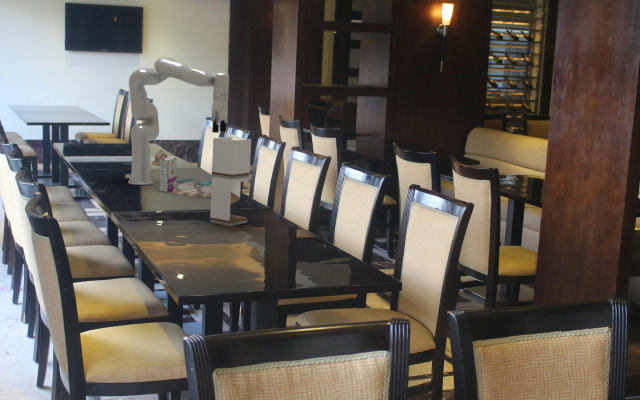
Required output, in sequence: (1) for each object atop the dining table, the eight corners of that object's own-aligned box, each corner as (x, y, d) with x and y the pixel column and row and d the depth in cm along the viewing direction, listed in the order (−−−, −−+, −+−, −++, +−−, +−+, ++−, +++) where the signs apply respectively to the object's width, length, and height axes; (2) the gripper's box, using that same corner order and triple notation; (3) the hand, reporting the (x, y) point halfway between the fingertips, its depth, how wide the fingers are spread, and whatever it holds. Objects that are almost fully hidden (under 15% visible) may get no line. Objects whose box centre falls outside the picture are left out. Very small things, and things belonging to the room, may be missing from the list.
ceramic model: (150, 163, 506) (150, 147, 505) (167, 163, 511) (168, 147, 509) (155, 166, 494) (155, 150, 492) (173, 166, 499) (173, 150, 497)
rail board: (172, 193, 395) (172, 180, 394) (185, 190, 409) (185, 177, 408) (205, 197, 390) (205, 184, 389) (217, 194, 403) (218, 181, 402)
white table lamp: (230, 226, 326) (234, 140, 320) (210, 222, 331) (213, 137, 326) (247, 222, 336) (251, 139, 330) (227, 218, 341) (230, 136, 335)
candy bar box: (167, 188, 411) (168, 156, 408) (176, 189, 410) (177, 157, 407) (158, 191, 400) (159, 158, 397) (167, 192, 399) (168, 159, 396)
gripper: (220, 97, 410) (218, 130, 413) (206, 97, 393) (205, 132, 396) (233, 98, 408) (232, 131, 411) (221, 98, 391) (219, 133, 394)
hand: (219, 131), depth 403 cm, fingers open, 9 cm apart
